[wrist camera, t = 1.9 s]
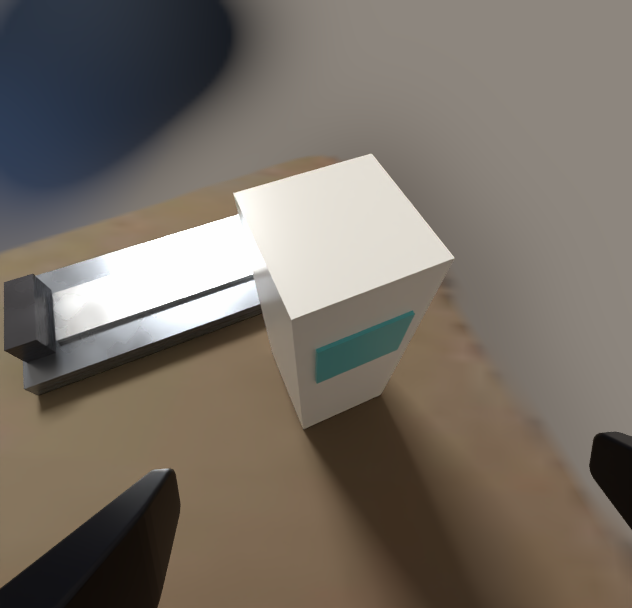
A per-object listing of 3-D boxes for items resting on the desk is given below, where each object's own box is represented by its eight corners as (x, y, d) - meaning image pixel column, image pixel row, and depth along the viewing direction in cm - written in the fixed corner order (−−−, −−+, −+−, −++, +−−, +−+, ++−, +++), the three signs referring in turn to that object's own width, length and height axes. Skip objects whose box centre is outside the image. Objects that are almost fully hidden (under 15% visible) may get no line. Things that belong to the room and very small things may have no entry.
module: (382, 396, 21) (457, 261, 10) (304, 432, 20) (293, 324, 9) (344, 325, 24) (371, 153, 13) (272, 353, 23) (233, 193, 12)
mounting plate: (369, 273, 26) (376, 246, 23) (37, 395, 21) (0, 378, 19) (323, 200, 30) (324, 169, 27) (32, 290, 25) (0, 263, 22)
